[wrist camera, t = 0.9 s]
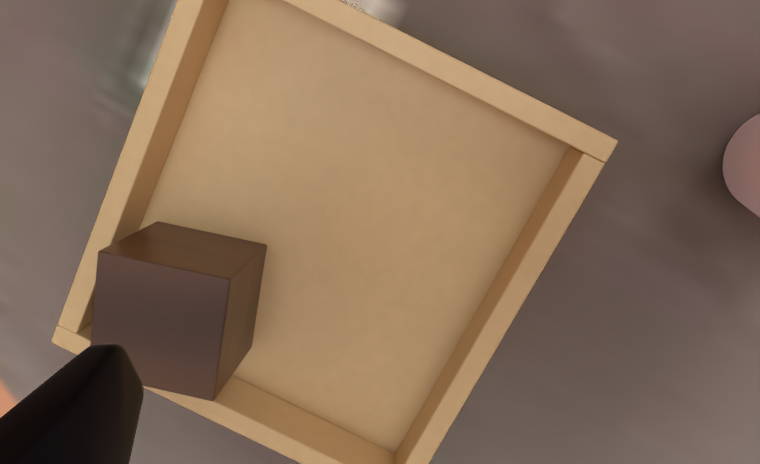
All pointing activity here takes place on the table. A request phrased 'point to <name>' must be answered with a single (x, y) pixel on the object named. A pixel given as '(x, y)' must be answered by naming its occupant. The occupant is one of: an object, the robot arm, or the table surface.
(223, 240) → the walnut block
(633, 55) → the table surface
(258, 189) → the tray
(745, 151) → the smoothie
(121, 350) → the robot arm
